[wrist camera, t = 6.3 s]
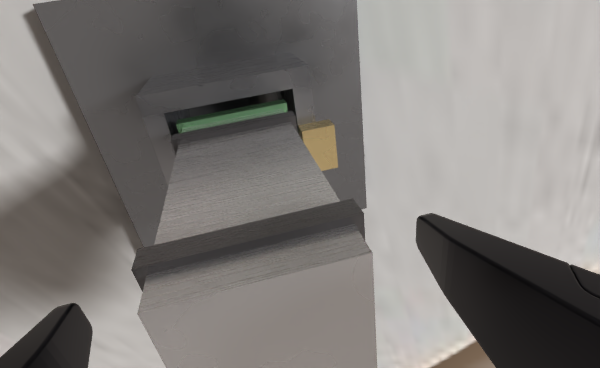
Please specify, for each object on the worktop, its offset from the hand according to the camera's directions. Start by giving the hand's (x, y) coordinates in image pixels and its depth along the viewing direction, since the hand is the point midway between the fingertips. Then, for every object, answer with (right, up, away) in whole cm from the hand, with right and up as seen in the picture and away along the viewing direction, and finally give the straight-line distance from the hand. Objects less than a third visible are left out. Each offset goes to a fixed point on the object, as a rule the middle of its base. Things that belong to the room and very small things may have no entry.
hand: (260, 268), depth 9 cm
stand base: (-2, +6, +10) cm, 12 cm away
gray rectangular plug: (-2, +3, +6) cm, 7 cm away
